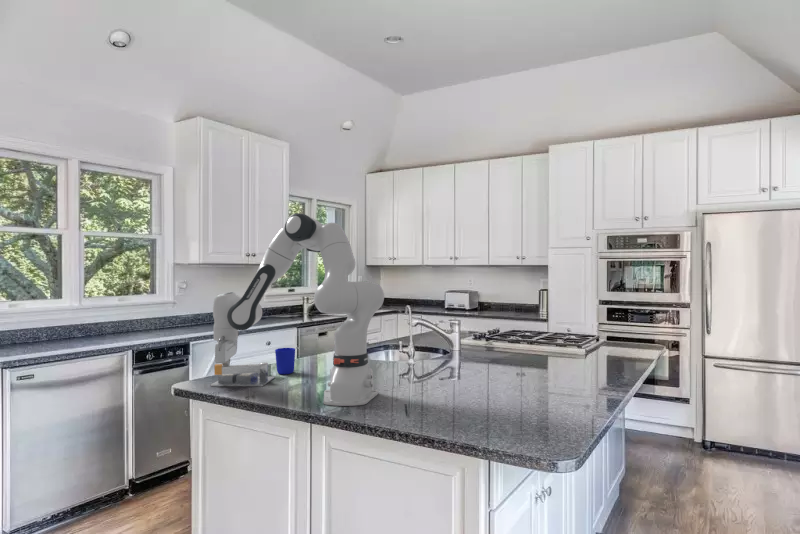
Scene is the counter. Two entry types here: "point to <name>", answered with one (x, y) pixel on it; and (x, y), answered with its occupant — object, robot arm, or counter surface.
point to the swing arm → (240, 368)
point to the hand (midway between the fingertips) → (226, 370)
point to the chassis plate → (255, 383)
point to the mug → (285, 360)
